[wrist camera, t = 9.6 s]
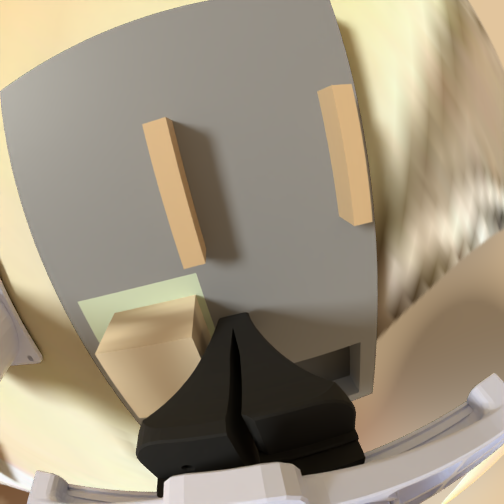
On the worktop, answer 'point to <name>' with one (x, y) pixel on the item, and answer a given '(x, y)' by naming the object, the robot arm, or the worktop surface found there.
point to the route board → (206, 178)
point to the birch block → (153, 351)
